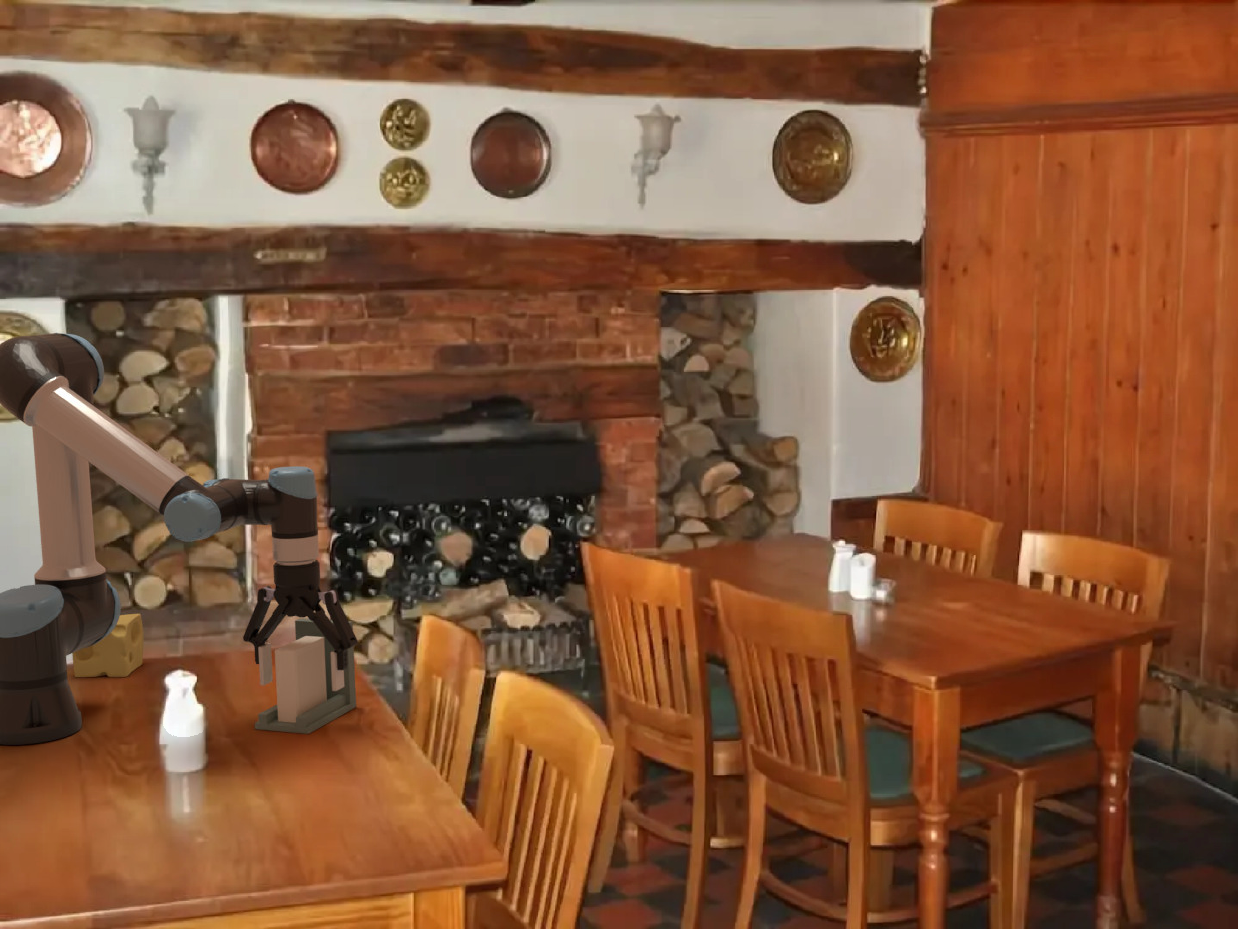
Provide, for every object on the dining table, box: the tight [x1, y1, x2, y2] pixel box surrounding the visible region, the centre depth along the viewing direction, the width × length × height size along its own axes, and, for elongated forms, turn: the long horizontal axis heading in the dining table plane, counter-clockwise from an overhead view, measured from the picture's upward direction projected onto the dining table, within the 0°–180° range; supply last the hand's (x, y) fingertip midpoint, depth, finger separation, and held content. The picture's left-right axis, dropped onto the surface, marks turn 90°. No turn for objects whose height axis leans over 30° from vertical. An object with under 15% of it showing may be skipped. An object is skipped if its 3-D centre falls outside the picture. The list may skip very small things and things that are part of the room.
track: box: [254, 617, 357, 735], centre depth 258 cm, size 16×10×15 cm, turn 161°
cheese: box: [71, 613, 144, 678], centre depth 293 cm, size 10×11×10 cm
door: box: [274, 636, 327, 723], centre depth 257 cm, size 10×4×12 cm, turn 162°
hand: (302, 686), depth 258 cm, fingers open, 13 cm apart
